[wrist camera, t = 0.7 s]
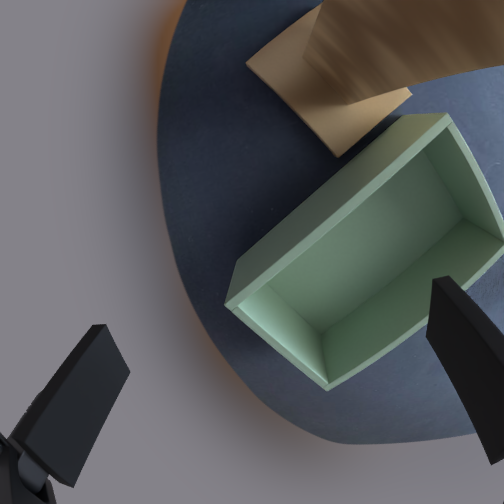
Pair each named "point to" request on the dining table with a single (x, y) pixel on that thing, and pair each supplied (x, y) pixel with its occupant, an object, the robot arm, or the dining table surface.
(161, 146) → the dining table surface
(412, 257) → the bin
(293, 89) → the stand
